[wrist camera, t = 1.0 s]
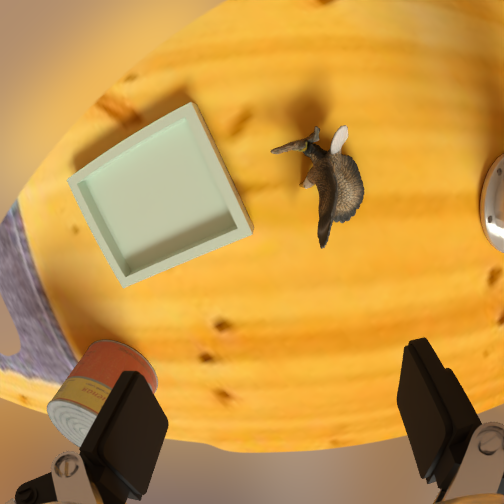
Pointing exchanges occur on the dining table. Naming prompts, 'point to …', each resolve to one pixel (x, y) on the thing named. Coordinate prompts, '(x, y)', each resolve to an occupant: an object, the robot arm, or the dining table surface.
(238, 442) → the dining table surface
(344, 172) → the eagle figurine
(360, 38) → the dining table surface
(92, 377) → the canned food
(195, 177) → the tray
